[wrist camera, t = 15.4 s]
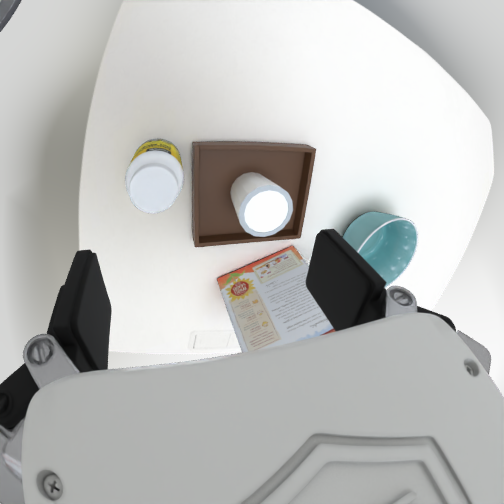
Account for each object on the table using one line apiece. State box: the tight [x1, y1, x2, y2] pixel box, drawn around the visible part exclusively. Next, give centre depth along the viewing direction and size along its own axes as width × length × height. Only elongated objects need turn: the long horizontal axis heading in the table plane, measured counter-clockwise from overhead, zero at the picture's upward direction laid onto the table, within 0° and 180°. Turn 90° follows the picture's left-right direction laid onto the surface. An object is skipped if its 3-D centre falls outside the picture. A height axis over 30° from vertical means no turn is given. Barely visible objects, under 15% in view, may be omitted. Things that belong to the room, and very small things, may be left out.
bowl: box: [343, 212, 418, 288], centre depth 47 cm, size 16×16×8 cm
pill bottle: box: [125, 139, 184, 213], centre depth 28 cm, size 6×6×11 cm
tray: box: [192, 141, 316, 247], centre depth 38 cm, size 16×14×2 cm
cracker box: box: [217, 246, 336, 353], centre depth 39 cm, size 14×6×21 cm, turn 106°
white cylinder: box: [230, 172, 293, 237], centre depth 35 cm, size 7×7×7 cm
